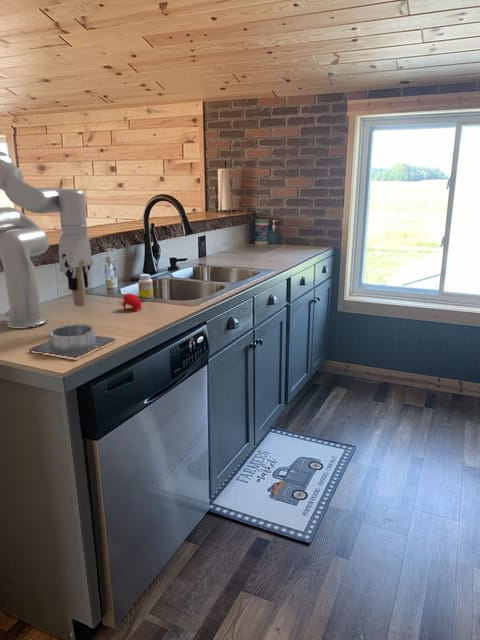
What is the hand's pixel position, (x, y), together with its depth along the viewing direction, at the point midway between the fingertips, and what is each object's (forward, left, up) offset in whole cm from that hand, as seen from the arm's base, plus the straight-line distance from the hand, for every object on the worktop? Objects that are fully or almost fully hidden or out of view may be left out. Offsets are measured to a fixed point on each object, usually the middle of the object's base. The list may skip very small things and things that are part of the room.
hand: (78, 287), depth 152 cm
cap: (+1, +26, -14) cm, 30 cm away
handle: (0, 0, -6) cm, 6 cm away
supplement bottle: (-3, +41, -14) cm, 44 cm away
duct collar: (+10, -15, -14) cm, 22 cm away
